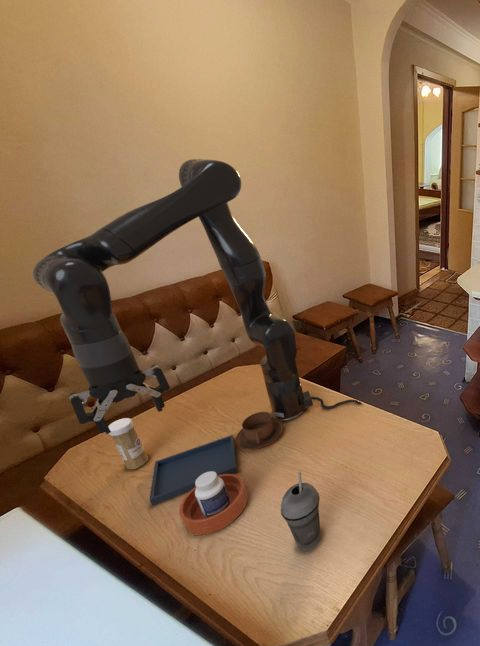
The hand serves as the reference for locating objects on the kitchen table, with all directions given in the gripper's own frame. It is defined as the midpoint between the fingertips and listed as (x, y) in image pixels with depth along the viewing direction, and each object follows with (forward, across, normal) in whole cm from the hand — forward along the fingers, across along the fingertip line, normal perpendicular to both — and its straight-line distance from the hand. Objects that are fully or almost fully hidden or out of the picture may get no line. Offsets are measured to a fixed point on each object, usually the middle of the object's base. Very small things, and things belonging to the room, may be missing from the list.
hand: (135, 420), depth 76 cm
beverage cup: (+24, +15, -36) cm, 46 cm away
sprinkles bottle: (+24, -2, +18) cm, 30 cm away
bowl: (+24, +6, -13) cm, 27 cm away
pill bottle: (+23, +6, -13) cm, 27 cm away
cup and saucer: (+24, +22, +2) cm, 33 cm away
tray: (+24, +7, +4) cm, 25 cm away
